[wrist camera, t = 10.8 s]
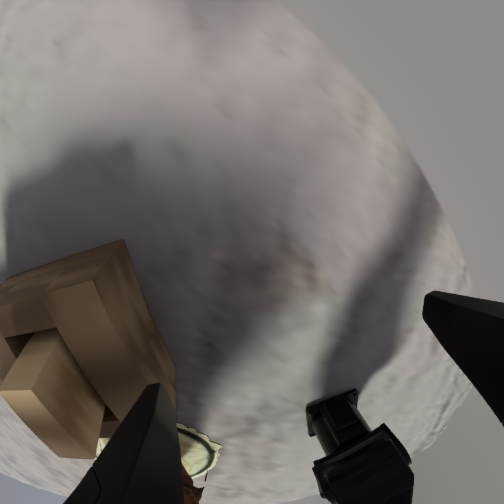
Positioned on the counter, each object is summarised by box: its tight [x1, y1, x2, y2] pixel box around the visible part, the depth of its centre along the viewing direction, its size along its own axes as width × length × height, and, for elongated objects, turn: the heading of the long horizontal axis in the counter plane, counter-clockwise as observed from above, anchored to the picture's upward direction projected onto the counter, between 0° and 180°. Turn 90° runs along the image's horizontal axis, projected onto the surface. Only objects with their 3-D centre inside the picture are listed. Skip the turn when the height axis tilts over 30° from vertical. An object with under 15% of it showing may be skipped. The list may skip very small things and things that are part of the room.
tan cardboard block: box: [0, 327, 106, 459], centre depth 13 cm, size 6×4×8 cm, turn 11°
